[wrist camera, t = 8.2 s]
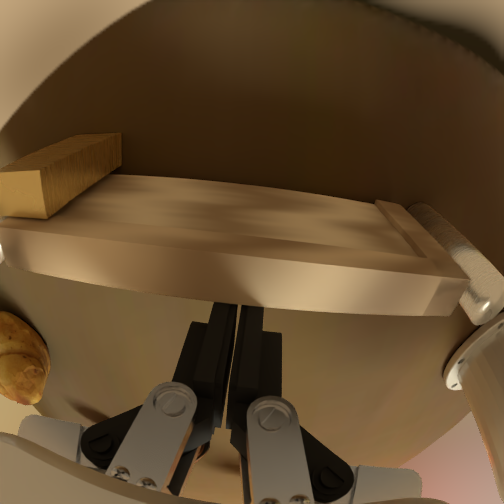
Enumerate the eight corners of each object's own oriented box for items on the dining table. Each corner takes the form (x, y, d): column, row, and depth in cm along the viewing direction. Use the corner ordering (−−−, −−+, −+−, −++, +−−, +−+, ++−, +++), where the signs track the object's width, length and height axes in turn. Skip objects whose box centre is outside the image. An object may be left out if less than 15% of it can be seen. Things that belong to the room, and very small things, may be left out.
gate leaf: (399, 204, 15) (470, 279, 9) (390, 232, 16) (450, 315, 9) (81, 168, 14) (-5, 226, 8) (83, 198, 15) (7, 266, 9)
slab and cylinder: (121, 132, 13) (21, 180, 6) (124, 211, 16) (50, 298, 9) (34, 139, 13) (-62, 186, 6) (42, 206, 15) (-36, 273, 9)
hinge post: (437, 205, 15) (517, 282, 8) (425, 239, 16) (493, 324, 10) (408, 198, 15) (489, 279, 8) (396, 234, 16) (462, 326, 9)
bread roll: (46, 381, 28) (25, 428, 21) (-9, 336, 24) (-36, 380, 17) (68, 346, 23) (37, 411, 16) (-4, 285, 19) (-47, 340, 13)
